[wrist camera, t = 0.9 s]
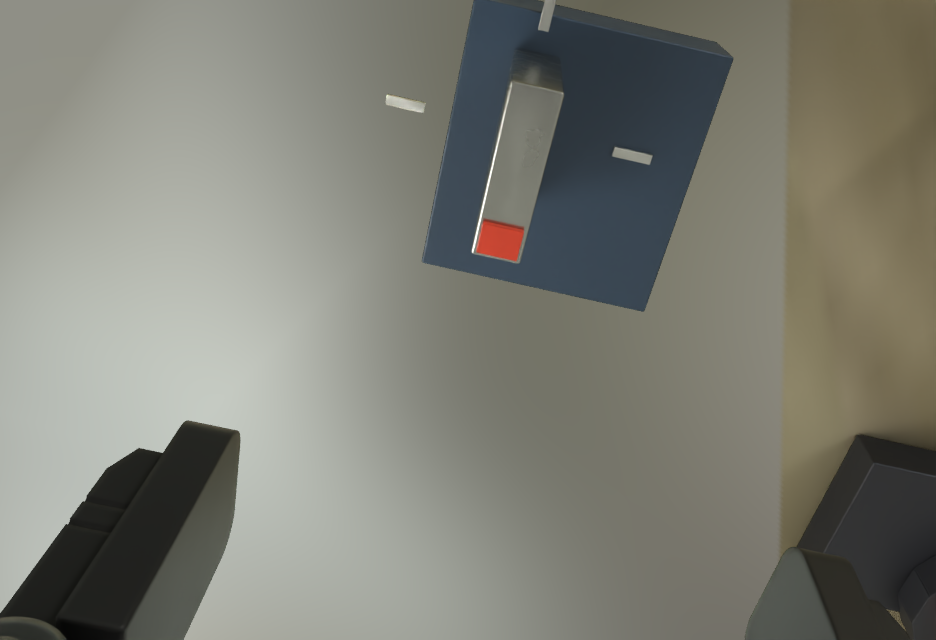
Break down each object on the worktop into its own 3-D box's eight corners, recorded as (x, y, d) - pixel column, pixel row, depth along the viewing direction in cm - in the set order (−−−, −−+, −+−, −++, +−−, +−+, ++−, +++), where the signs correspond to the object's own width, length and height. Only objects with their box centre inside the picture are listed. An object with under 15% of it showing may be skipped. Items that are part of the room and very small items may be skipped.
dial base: (421, -53, 30) (409, -47, 27) (725, 18, 30) (744, 32, 27) (375, 222, 35) (361, 251, 32) (636, 280, 35) (644, 314, 32)
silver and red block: (515, 46, 28) (510, 82, 23) (560, 56, 28) (565, 94, 23) (481, 196, 31) (469, 257, 26) (522, 205, 31) (519, 268, 26)
